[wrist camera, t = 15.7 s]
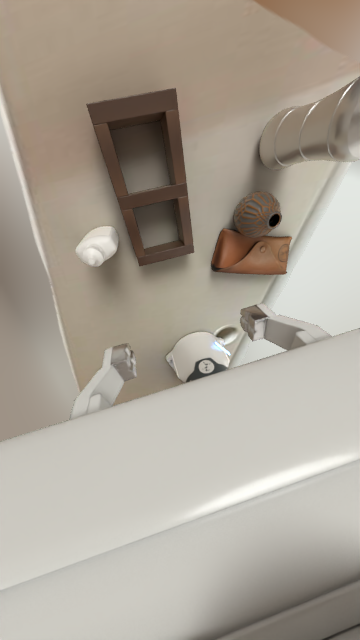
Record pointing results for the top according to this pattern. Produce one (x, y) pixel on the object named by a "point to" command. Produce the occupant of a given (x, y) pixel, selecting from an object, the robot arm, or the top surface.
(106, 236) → the eye dropper bottle
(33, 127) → the top surface
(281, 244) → the sunglasses case
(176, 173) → the stand
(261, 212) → the vase
